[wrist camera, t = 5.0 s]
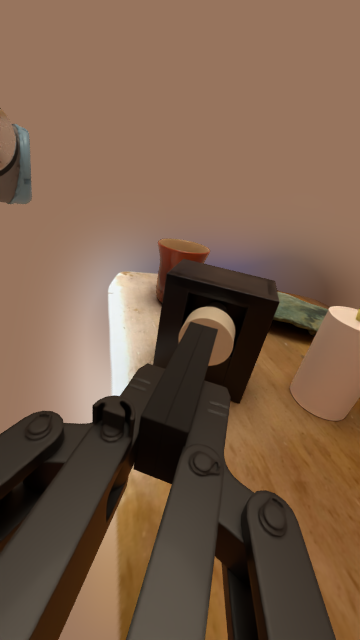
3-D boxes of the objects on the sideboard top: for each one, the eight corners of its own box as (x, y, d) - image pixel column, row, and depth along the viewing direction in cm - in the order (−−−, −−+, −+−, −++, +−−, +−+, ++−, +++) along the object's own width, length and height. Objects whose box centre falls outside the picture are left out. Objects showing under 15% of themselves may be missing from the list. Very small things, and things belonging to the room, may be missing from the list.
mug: (205, 311, 44) (219, 254, 40) (158, 313, 41) (167, 250, 36) (181, 285, 54) (190, 236, 49) (142, 284, 51) (147, 232, 46)
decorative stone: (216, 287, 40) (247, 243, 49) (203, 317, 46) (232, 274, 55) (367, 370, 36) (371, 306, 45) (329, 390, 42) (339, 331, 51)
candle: (354, 404, 30) (438, 286, 22) (335, 430, 25) (430, 296, 18) (304, 372, 33) (361, 263, 26) (280, 391, 29) (340, 268, 22)
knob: (174, 356, 22) (183, 311, 20) (190, 325, 28) (199, 286, 26) (225, 372, 22) (240, 326, 19) (231, 336, 27) (243, 298, 25)
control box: (151, 375, 28) (166, 272, 22) (167, 347, 33) (183, 258, 28) (239, 403, 26) (280, 301, 21) (242, 369, 32) (275, 280, 26)
